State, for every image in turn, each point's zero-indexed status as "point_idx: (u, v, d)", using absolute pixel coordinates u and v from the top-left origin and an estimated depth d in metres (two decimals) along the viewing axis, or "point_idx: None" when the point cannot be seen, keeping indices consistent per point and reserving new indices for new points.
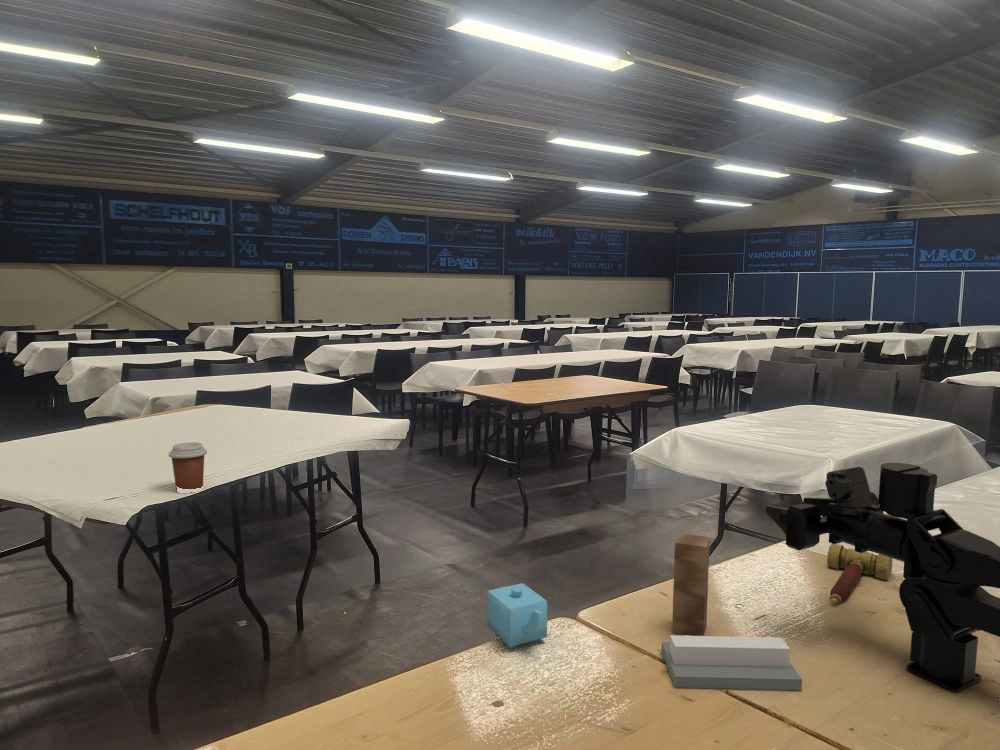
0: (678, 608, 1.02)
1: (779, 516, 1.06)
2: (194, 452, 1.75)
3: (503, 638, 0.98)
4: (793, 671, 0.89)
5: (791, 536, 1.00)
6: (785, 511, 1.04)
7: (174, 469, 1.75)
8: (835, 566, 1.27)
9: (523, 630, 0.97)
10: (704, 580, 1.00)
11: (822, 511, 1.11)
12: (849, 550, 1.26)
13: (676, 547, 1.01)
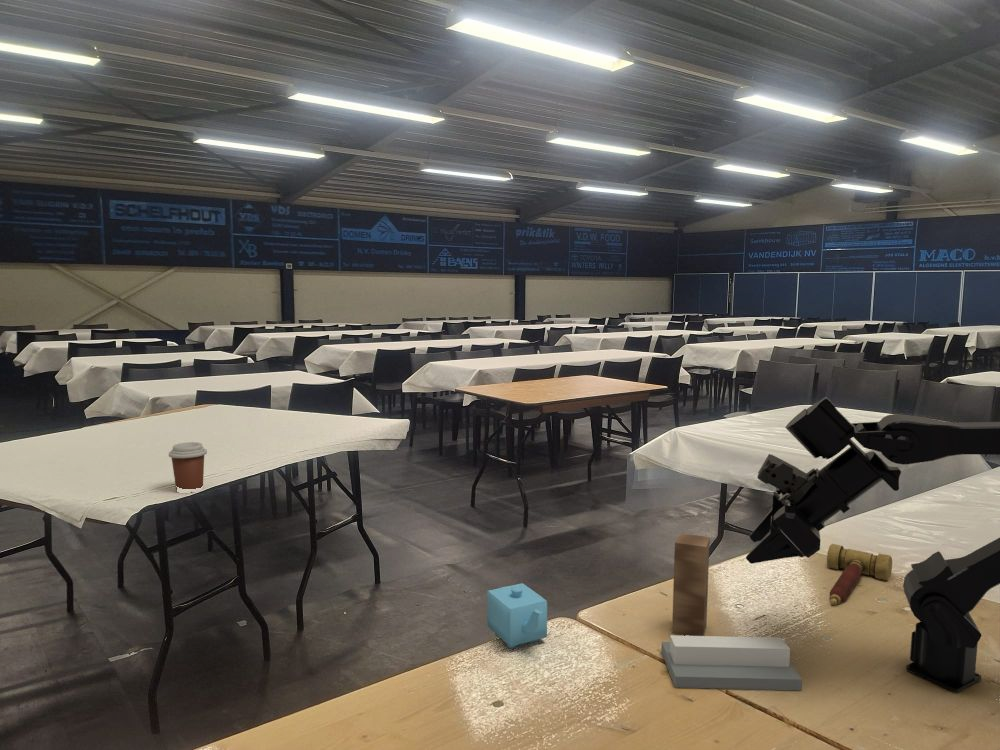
0: (678, 608, 1.02)
1: (767, 549, 0.93)
2: (194, 452, 1.75)
3: (503, 638, 0.98)
4: (793, 671, 0.89)
5: (803, 543, 0.88)
6: (768, 537, 0.92)
7: (174, 469, 1.75)
8: (835, 566, 1.27)
9: (523, 630, 0.97)
10: (704, 580, 1.00)
11: None
12: (849, 550, 1.26)
13: (676, 547, 1.01)
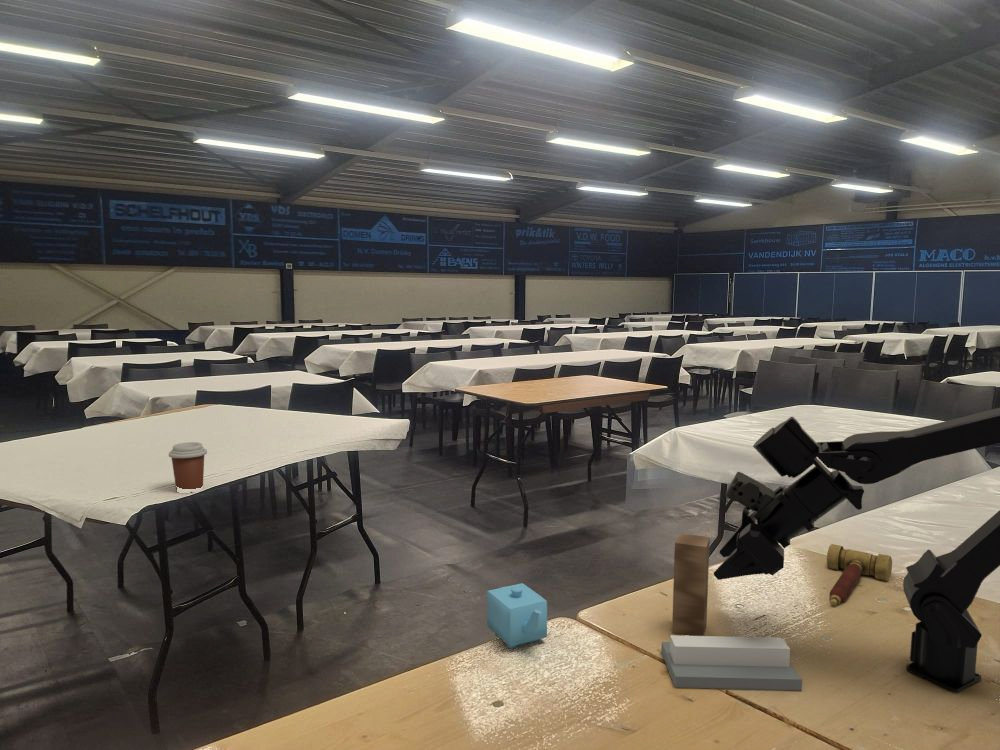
0: (678, 608, 1.02)
1: (734, 566, 0.95)
2: (194, 452, 1.75)
3: (503, 638, 0.98)
4: (793, 671, 0.89)
5: (767, 561, 0.90)
6: (735, 554, 0.94)
7: (174, 469, 1.75)
8: (835, 567, 1.27)
9: (523, 630, 0.97)
10: (704, 580, 1.00)
11: None
12: (849, 551, 1.26)
13: (676, 547, 1.01)
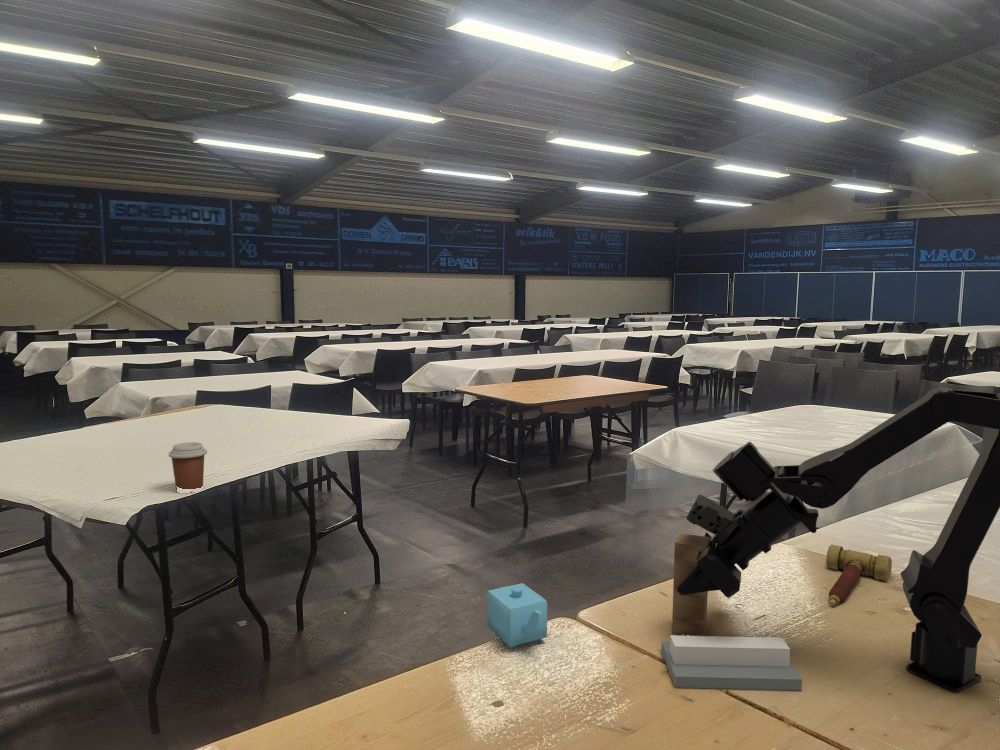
0: (678, 608, 1.02)
1: (695, 582, 0.99)
2: (194, 452, 1.75)
3: (503, 638, 0.98)
4: (793, 671, 0.89)
5: (723, 584, 0.92)
6: (696, 571, 0.98)
7: (174, 469, 1.75)
8: (834, 567, 1.26)
9: (523, 630, 0.97)
10: None
11: None
12: (848, 551, 1.26)
13: (676, 547, 1.01)
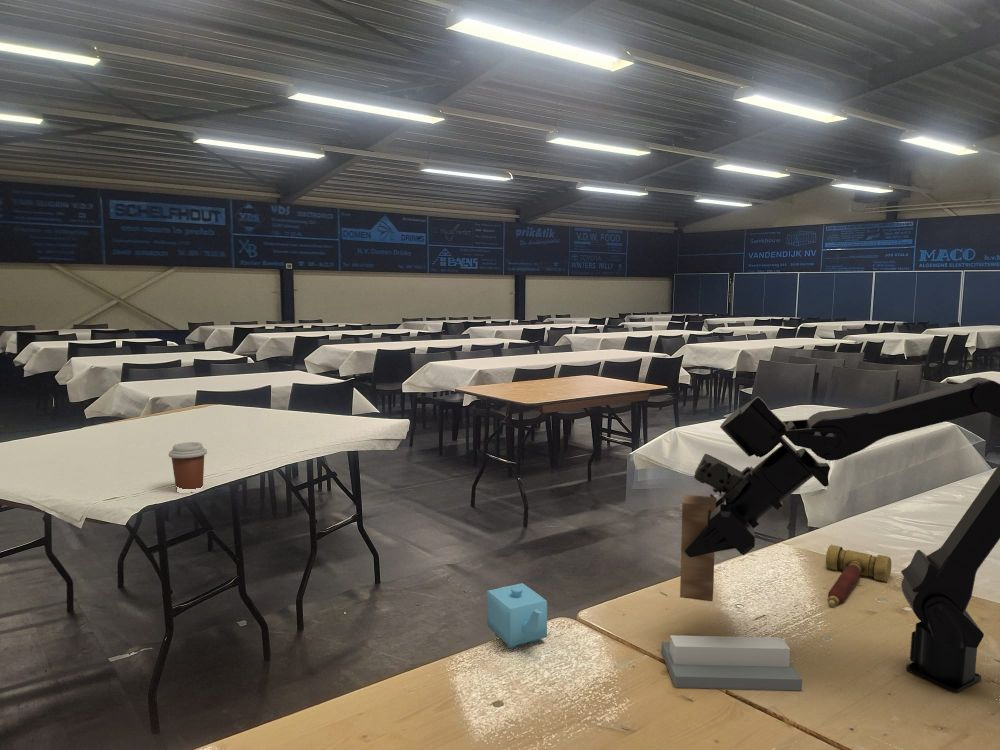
0: (686, 571, 0.99)
1: (705, 543, 0.96)
2: (194, 452, 1.75)
3: (503, 638, 0.98)
4: (793, 671, 0.89)
5: (738, 541, 0.89)
6: (706, 531, 0.95)
7: (174, 469, 1.75)
8: (834, 568, 1.26)
9: (523, 630, 0.97)
10: None
11: None
12: (848, 551, 1.26)
13: (684, 507, 0.98)
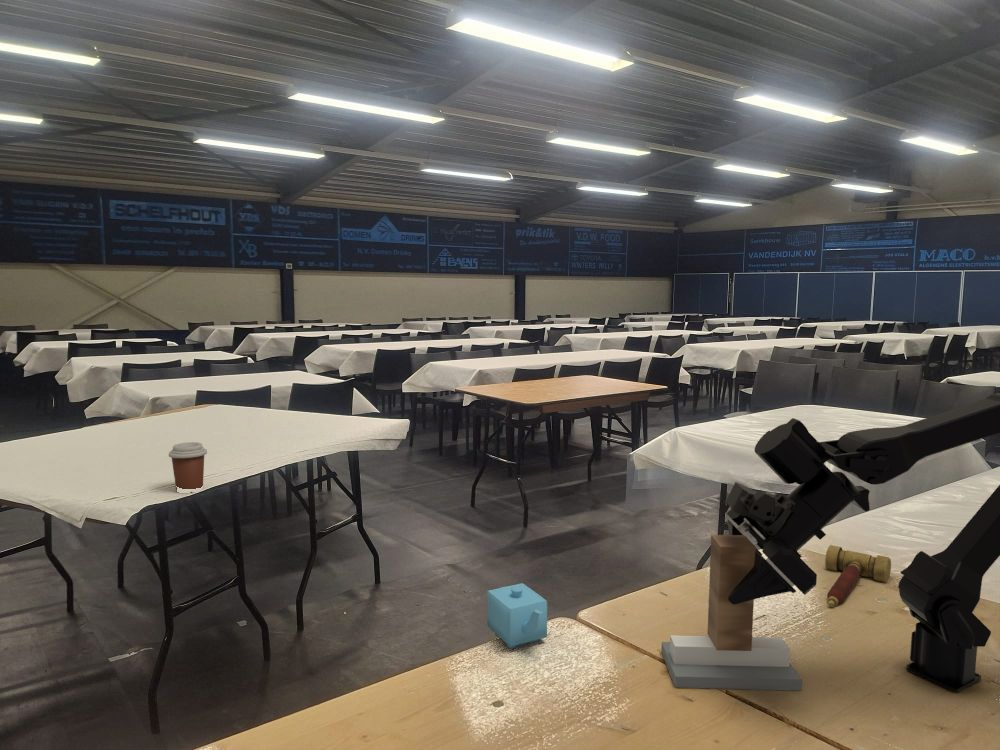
0: (723, 621, 0.89)
1: (753, 588, 0.85)
2: (194, 452, 1.75)
3: (503, 638, 0.98)
4: (793, 671, 0.89)
5: (801, 580, 0.81)
6: (756, 575, 0.85)
7: (174, 469, 1.75)
8: (833, 568, 1.26)
9: (523, 630, 0.97)
10: None
11: None
12: (847, 552, 1.26)
13: (722, 552, 0.88)
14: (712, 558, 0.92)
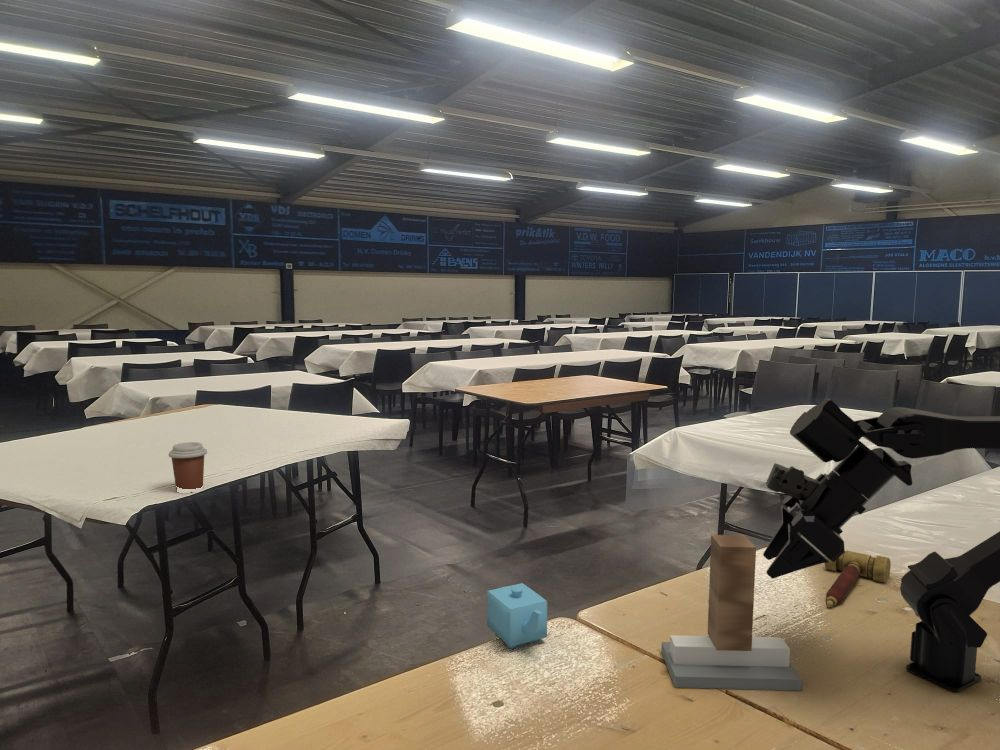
0: (723, 621, 0.89)
1: (788, 560, 0.88)
2: (194, 452, 1.75)
3: (503, 638, 0.98)
4: (793, 671, 0.89)
5: (826, 546, 0.84)
6: (788, 547, 0.88)
7: (174, 469, 1.75)
8: (833, 568, 1.26)
9: (523, 630, 0.97)
10: (753, 585, 0.89)
11: None
12: (847, 552, 1.25)
13: (722, 552, 0.88)
14: (712, 558, 0.92)
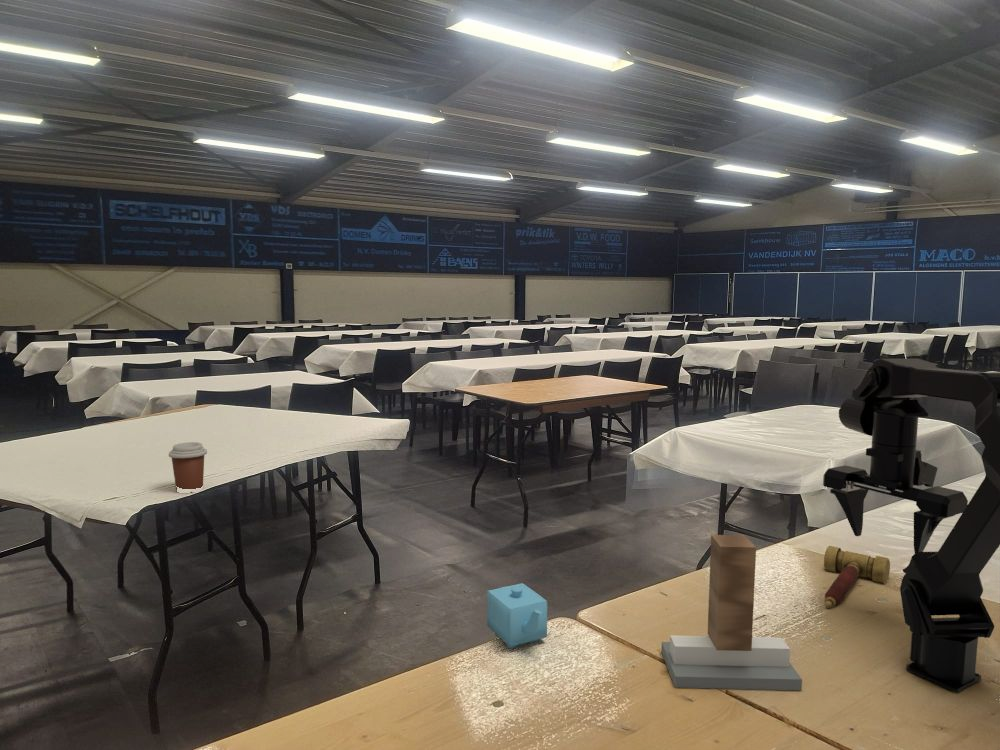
0: (723, 621, 0.89)
1: None
2: (194, 452, 1.75)
3: (503, 638, 0.98)
4: (793, 671, 0.89)
5: None
6: None
7: (174, 469, 1.75)
8: (832, 569, 1.26)
9: (523, 630, 0.97)
10: (753, 585, 0.89)
11: None
12: (846, 553, 1.25)
13: (722, 552, 0.88)
14: (712, 558, 0.92)
